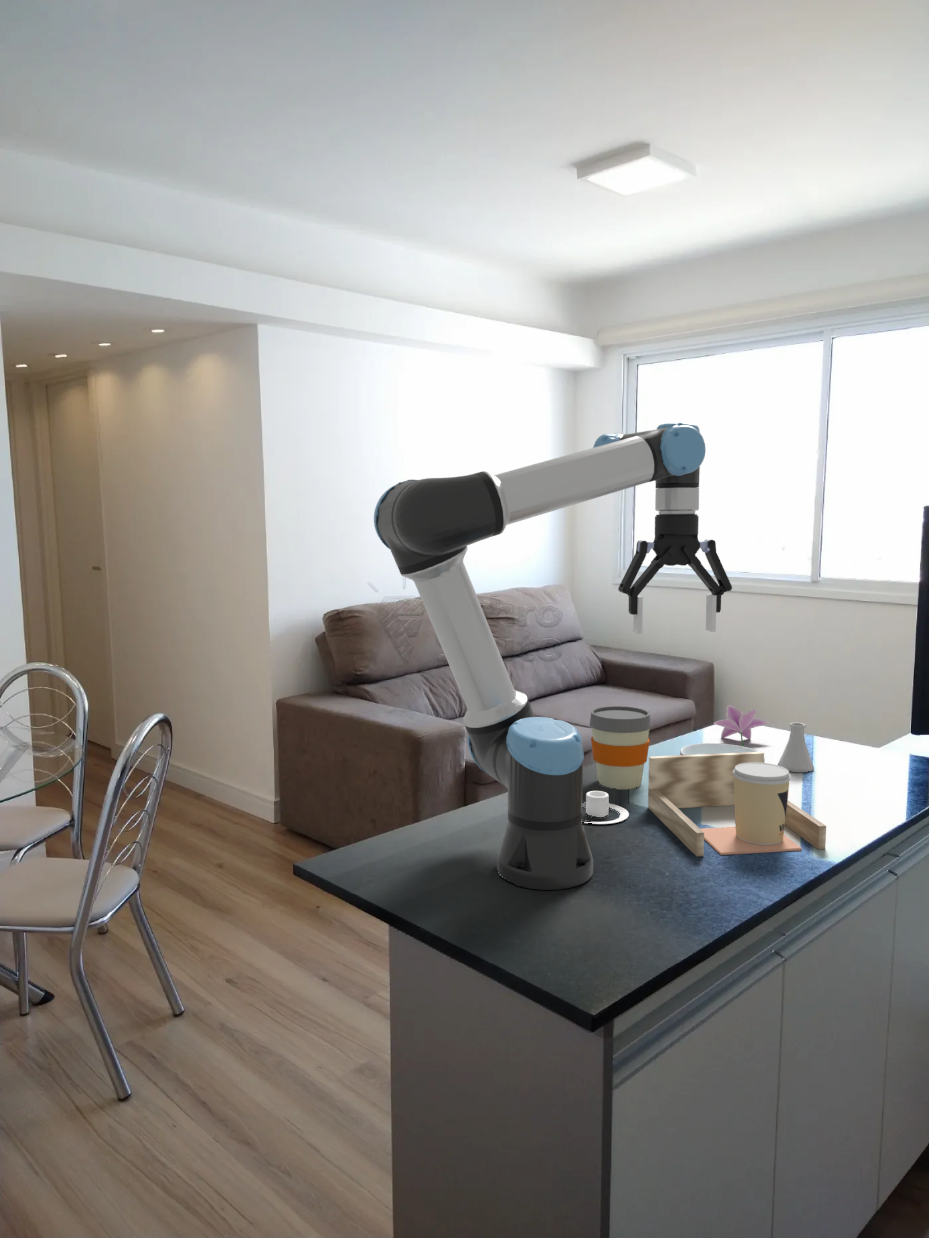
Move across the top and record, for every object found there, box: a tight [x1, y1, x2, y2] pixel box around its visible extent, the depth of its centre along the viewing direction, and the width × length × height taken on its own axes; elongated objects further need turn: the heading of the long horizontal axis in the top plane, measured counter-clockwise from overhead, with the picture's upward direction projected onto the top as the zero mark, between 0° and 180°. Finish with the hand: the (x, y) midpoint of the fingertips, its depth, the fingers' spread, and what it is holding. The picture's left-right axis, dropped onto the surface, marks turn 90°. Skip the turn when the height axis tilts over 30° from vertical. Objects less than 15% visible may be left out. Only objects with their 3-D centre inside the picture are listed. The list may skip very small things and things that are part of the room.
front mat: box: [700, 826, 803, 856], centre depth 150 cm, size 14×11×1 cm
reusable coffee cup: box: [589, 705, 652, 790], centre depth 181 cm, size 13×13×15 cm
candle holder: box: [583, 790, 630, 825], centre depth 163 cm, size 12×12×4 cm
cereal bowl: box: [679, 742, 766, 763], centre depth 179 cm, size 17×17×7 cm
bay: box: [647, 751, 827, 857], centre depth 156 cm, size 22×24×10 cm
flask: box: [777, 722, 815, 773], centre depth 190 cm, size 7×7×10 cm
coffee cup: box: [733, 762, 792, 845], centre depth 149 cm, size 9×9×12 cm
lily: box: [713, 704, 770, 747], centre depth 212 cm, size 12×12×10 cm
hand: (674, 631), depth 157 cm, fingers open, 13 cm apart
